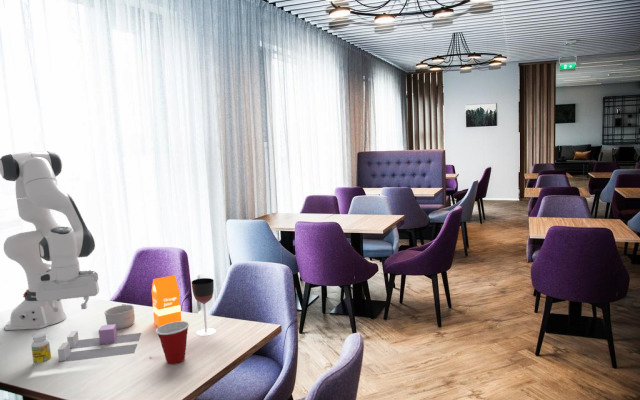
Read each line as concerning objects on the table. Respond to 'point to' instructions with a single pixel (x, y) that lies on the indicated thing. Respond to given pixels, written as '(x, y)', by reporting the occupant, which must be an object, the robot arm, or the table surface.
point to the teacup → (120, 316)
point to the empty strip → (92, 352)
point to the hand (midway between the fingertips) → (70, 310)
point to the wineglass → (203, 299)
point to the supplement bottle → (40, 348)
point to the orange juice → (166, 300)
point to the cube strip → (98, 340)
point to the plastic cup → (173, 340)
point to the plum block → (107, 333)
